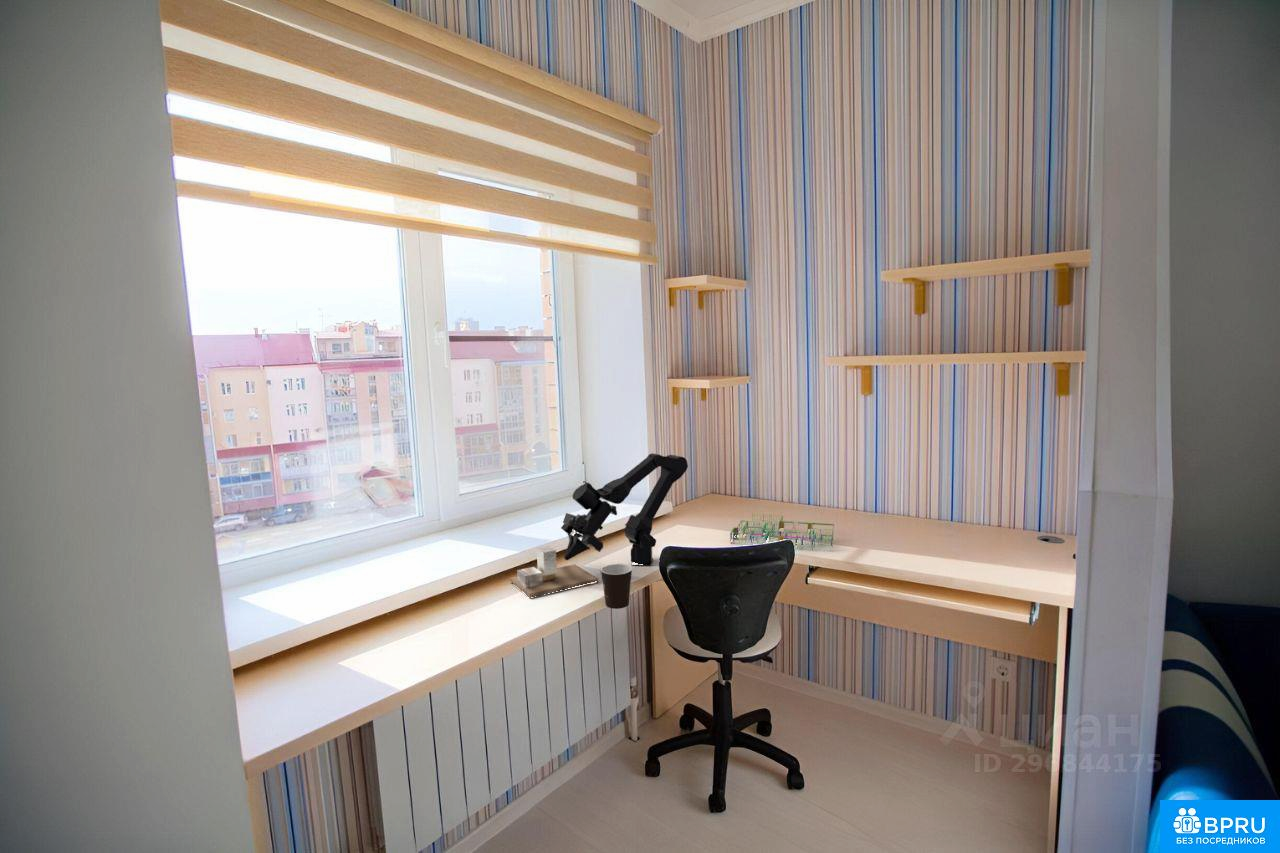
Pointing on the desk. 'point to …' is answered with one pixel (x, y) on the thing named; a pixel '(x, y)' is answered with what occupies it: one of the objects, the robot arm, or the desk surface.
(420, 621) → the desk surface
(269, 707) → the desk surface
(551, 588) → the lock plate
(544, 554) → the white boxy piece
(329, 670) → the desk surface
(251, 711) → the desk surface
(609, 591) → the coffee mug
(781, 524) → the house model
